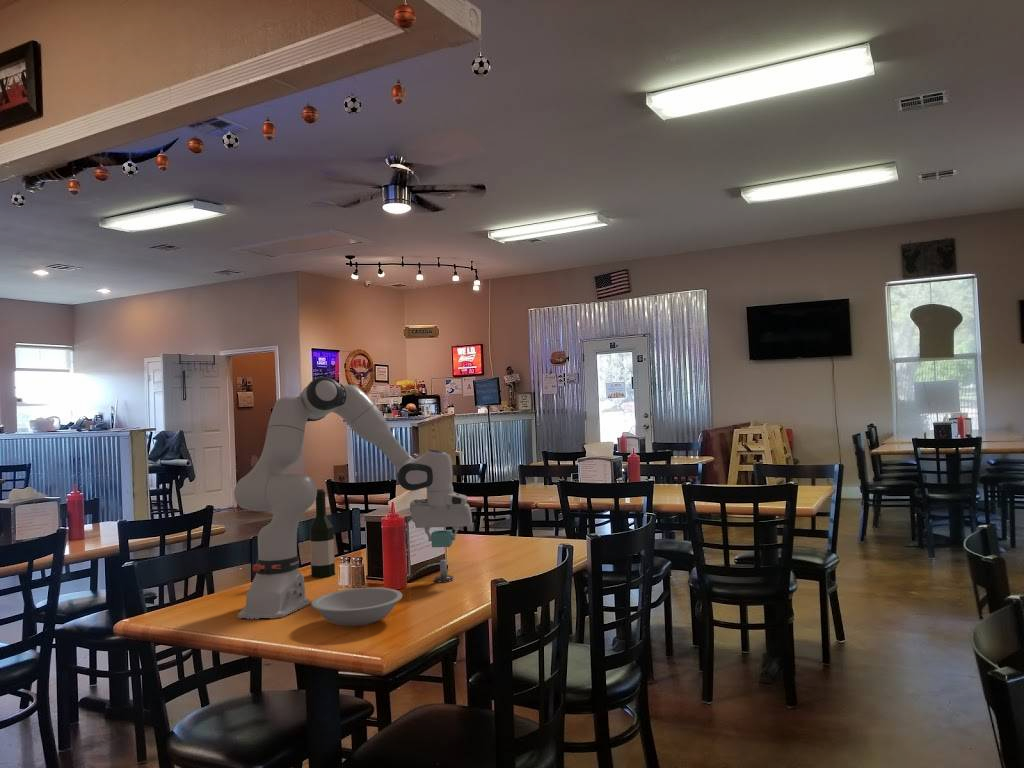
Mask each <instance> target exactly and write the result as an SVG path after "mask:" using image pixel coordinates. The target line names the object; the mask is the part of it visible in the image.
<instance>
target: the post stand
mask: <svg viewBox="0 0 1024 768" xmlns="http://www.w3.org/2000/svg"><path fill="white" fill-rule="evenodd" d="M447 563H448V561H447V559H440V560H439V571H440V573H439V574H440V575H436V576H435V577H434V582H435V581H441V582H440V583H443V582H442V581H449V580H452V579H453V580H454V576H453V575H450V574H448V564H447ZM453 580H452V581H453Z"/></svg>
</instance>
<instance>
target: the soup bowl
mask: <svg viewBox="0 0 1024 768" xmlns="http://www.w3.org/2000/svg"><path fill="white" fill-rule="evenodd" d="M402 598H403V593H402V592H401V591H399V590H397V589H393V588H389V587H388V588H387V587H358V588H356V587H355V588H350V589H349V588H348V589H343V590H338V591H333V592H328V593H325V594H322V595H319V596H318V597H316V598H315V599H313V600H312V602H310V605H311V607H312V608H313V609H315V610H317V611H318V613H319V614H320V615H321V616H322V617H323V618H324V619H325V620H327V621H328V622H329V623H332V624H335V625H339V626H341V627H342V626H343V627H344V626H346V627H355V626H357V627H358V626H359V627H360V626H365V625H370V624H372V623H375V622H378V621H380V620H382V619H384V618H385V617H387V616H388V615H389V614H390V613H391V612H392V611H393V609H394V608H395V607H396V605H397V603H398V602H400V600H402Z"/></svg>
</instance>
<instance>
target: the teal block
mask: <svg viewBox="0 0 1024 768" xmlns="http://www.w3.org/2000/svg"><path fill="white" fill-rule="evenodd" d="M430 534H431V540H432V541H431V548H450V547H451V546H452V545H453V543H454V540H451V534H453V529H439V530H437V529H434V530H433V532H430Z"/></svg>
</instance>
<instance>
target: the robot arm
mask: <svg viewBox="0 0 1024 768" xmlns="http://www.w3.org/2000/svg"><path fill="white" fill-rule="evenodd" d="M330 413H333V414H337V415H338V416H339V417H341V418H342V419H343V421H344V422H345V423H346V425H348V427H349V428H350V429H351V430H352V431H353V432H354V433H355V434H356V435H357V436H358V437H359V438H361V439H362V440H363V441H364V442H367V443H369V444H372V445H374V447H376V448H378V449H379V450H380V451H381V452H382V453H383V454H384V456H385V457H386V458H387V459H388V460H389V461H390V463H391V464H392V465H393V466H394V468H395V470H396V473H397V482H398V484H399V485H400V486H401V487H402V488H403V489H404V490H407V491H410V492H415V491H418V490H421V489H425V488H426V498H424V499H414V500H412V501H411V502H410V503H409V511H410V512H411V513H410V514H411V515H410V518H411V517H412V521H413V522H414V523H415V526H416V528H415V529H424V532H425V534H426V535H427V537H428V542H432V540H431V532H430V530H431V528H450V527H451V528H453V530H454V532H453V533H452V534H451V540H453V541H456V540H457V537H456V535H457V533H458V531H459V529H460V528H459V527H470V526H471V525H472V523H473V514H472V510H471V507H470V504H468V503H467V502H468V496H467V495H466V494H461V493H457V492H455V491H454V486H453V476H454V474H453V473H454V471H453V464H452V459H451V456H450V454H449V453H448V452H447V451H445V450H440V449H429V450H427V451H426V452H425V453H423V454H422V455H420V456H418V457H414V456H412V455H410V454H409V452H408V451H407V450H406V449H405V448H404V447H403V445H402V444H401V443H400V442H399V441H398V440H397V439H396V437H395V436H394V434H393V433H392V431H391V428H390V426H389V423H388V422H387V420H386V418H385V416H384V414H383V412H382V411H381V410H380V408H379V407H378V405H376V403H375V402H374V401H373V400H372V399H371V398H370V397H369V396H368V395H367V394H366V393H365V392H364V391H363V390H362V389H361V388H359V386H357V385H355V384H347V385H346V384H345V385H343V384H341V383H339V382H337V381H336V380H335V379H333V378H330V377H327V376H319V377H317V378H315V379H313V380H312V381H310V383H308V384H307V386H306V387H304V388H303V390H302V391H301V393H300V394H299V395H298V396H282V397H280V398H278V399H277V400H276V402H275V403H274V406H273V408H272V411H271V415H270V417H269V421H268V423H267V424H268V426H267V431H266V435H265V441H264V445H263V449H262V452H261V455H260V457H259V459H258V460H257V462H256V464H255V465H254V466H253V467H252V469H251V470H250V471H248V473H247V474H246V475H244V476H243V477H241V478H240V479H239V480H238V481H237V483H236V485H235V487H234V494H233V496H234V497H233V498H234V500H235V502H236V504H237V506H238V507H240V508H241V509H245V510H247V511H254V512H272V517H271V521H270V522H269V523H267V524H265V526H263V527H262V528H261V529H260V530H259V532H258V534H257V552H258V553H257V554H258V556H257V557H258V558H257V559H256V563H254V564H253V565H252V570H253V571H252V572H255V576H254V578H253V580H252V582H251V584H250V587H249V589H248V590H247V593H246V597H245V604H246V605H244V607H243V608H242V609H241V610H240V611H239V612H238V613H237V617H239V618H238V619H241V618H247V619H246V620H260V619H259V618H270V619H278V617H279V618H285V617H286V615H287V616H288V614H289V615H291V614H293V613H295V612H297V611H299V610H301V609H303V608H305V607H306V606H308V605H311V600H310V599H307V597H306V596H307V595H306V586H305V578H304V575H303V574H302V573H301V572H300V570H299V567H300V559H299V555H298V549H297V548H298V547H297V546H298V544H297V543H298V542H297V541H298V528H299V523H300V521H301V519H302V517H303V515H304V514H305V512H306V511H307V510H308V509H310V508H311V507H312V506H313V504H314V503H315V502H316V496H317V489H318V487H317V484H316V482H315V480H314V479H313V477H310V476H308V475H303V474H299V473H285V471H286V470H287V468H289V467H290V466H291V465H292V464H294V463H296V462H297V461H299V459H300V457H301V456H302V448H303V444H304V437H305V431H306V425H307V423H308V422H317V421H320V420H322V419H324V418H325V417H326V416H328V414H330ZM298 609H299V610H298ZM294 611H295V612H294ZM292 612H293V613H292ZM290 613H291V614H290ZM249 618H250V619H249ZM254 618H255V619H254Z"/></svg>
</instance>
